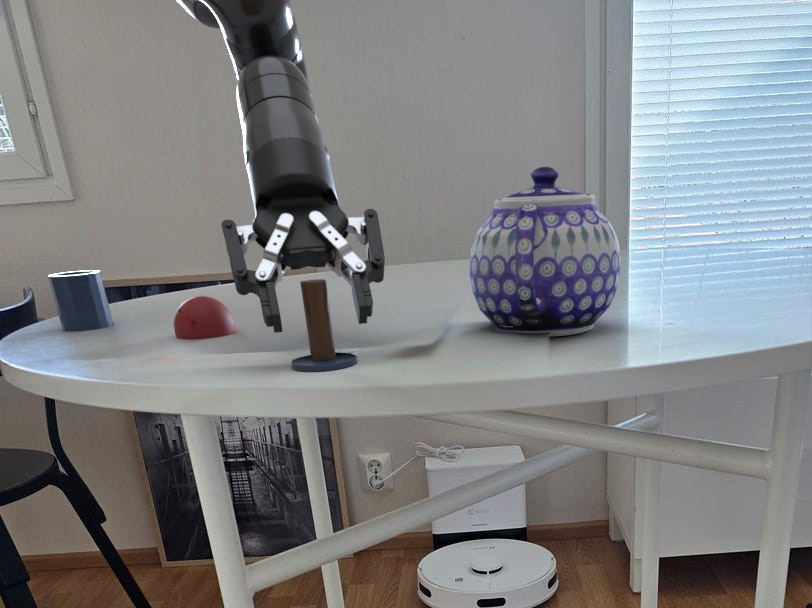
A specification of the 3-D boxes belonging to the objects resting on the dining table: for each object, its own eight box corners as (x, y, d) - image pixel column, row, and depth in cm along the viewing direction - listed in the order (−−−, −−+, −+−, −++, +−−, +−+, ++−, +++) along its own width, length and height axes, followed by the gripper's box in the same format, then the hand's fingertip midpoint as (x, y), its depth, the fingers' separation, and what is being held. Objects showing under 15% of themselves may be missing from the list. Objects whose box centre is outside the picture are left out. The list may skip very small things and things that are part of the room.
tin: (58, 348, 97) (38, 277, 93) (82, 340, 101) (63, 271, 98) (103, 346, 96) (85, 275, 92) (125, 338, 101) (108, 269, 97)
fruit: (180, 375, 89) (147, 311, 82) (192, 338, 92) (162, 273, 85) (236, 373, 89) (208, 308, 82) (247, 336, 91) (221, 270, 85)
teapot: (601, 353, 77) (604, 164, 70) (440, 354, 81) (427, 175, 74) (632, 309, 98) (636, 160, 91) (503, 311, 102) (497, 168, 95)
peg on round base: (285, 379, 75) (270, 287, 71) (303, 365, 80) (289, 278, 76) (349, 377, 74) (338, 283, 71) (363, 363, 79) (353, 275, 76)
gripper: (366, 196, 83) (400, 340, 79) (214, 206, 80) (241, 357, 76) (367, 129, 76) (404, 285, 72) (201, 139, 73) (229, 301, 69)
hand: (320, 321), depth 74 cm, fingers open, 7 cm apart
